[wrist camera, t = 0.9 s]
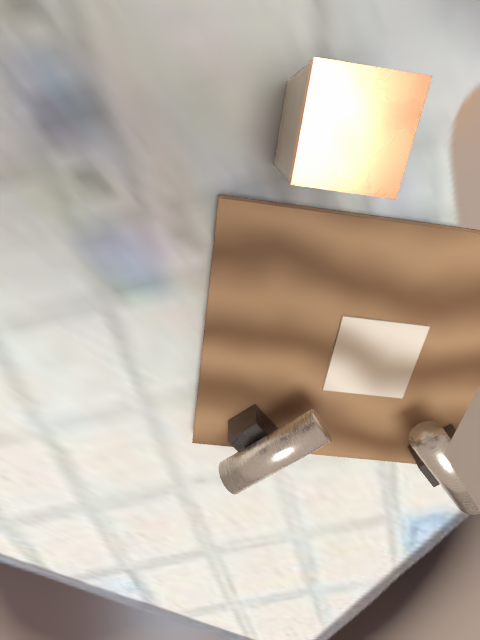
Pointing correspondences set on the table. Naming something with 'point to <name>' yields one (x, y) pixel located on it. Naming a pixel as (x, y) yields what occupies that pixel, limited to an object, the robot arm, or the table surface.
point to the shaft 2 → (439, 462)
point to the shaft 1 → (268, 446)
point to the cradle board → (339, 324)
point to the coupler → (349, 127)
